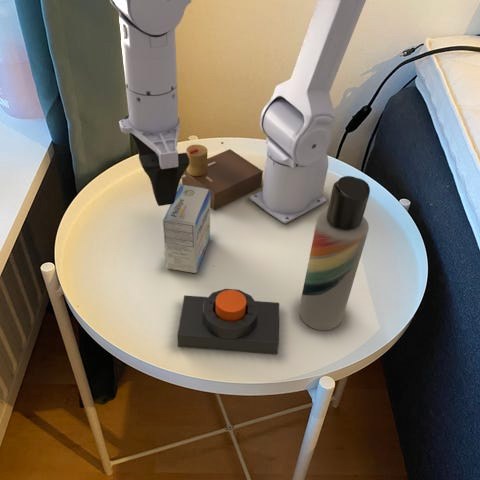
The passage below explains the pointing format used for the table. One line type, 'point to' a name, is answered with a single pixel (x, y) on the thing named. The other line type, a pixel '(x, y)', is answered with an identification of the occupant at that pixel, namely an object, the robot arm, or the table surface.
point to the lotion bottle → (335, 254)
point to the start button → (230, 305)
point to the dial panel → (226, 178)
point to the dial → (197, 160)
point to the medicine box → (187, 228)
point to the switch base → (229, 326)
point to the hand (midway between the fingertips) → (158, 185)
